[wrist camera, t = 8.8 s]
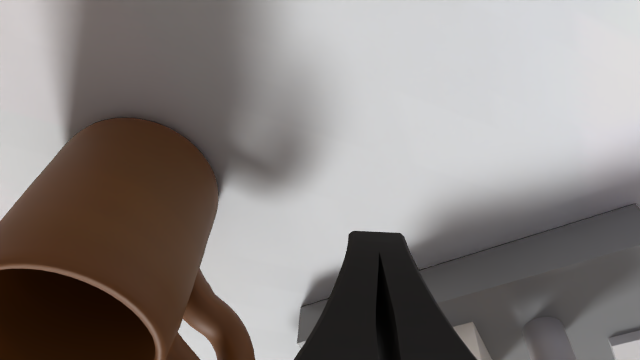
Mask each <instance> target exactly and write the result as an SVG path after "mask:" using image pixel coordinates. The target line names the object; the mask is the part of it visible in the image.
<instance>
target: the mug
mask: <svg viewBox="0 0 640 360" xmlns="http://www.w3.org/2000/svg"><path fill="white" fill-rule="evenodd" d="M217 207H218V186H217V182H216V178H215V175H214V173H213V170H212V169H211V167H210V165H209V163H208V162H207V160H206V159H205V157H204V156H203V155H202V153H201V152H200V151H199V150H198V149H197V148H196V147H195V146H194V145H193V144H192V143H191V142H190V141H189V140H188V139H186V138H185V137H183V136H182V135H180V134H179V133H177V132H175V131H174V130H172V129H170V128H168V127H165V126H163V125H161V124H158V123H155V122H152V121H148V120H143V119H136V118H113V119H107V120H103V121H100V122H96V123H94V124H92V125H90V126H88V127H86V128H85V129H83V130H82V131H80V132H79V133H77V134H76V135H75V136H74V137H73V138H72V139H71V140H70V141H69V142H68V143H67V144H65V146H64V147H63V148H62V149H61V150H60V151H59V152H58V154H57V155H56V156H55V157H54V159H53V160H52V161H51V162H50V163H49V164H48V166H47V167H46V168H45V169H44V170H43V171H42V172H41V174H40V175H39V176H38V177H37V178H36V179H35V180H34V182H33V183H32V184H31V185H30V186H29V187H28V189H27V190H26V191H25V192H24V193H23V195H22V196H21V197H20V198H19V199H18V201H17V202H16V203H15V204H14V205H13V207H12V208H11V209H10V210H9V211H8V213H7V214H6V215H5V216H4V217H3V219H2V220H1V221H0V360H200V359H199V358H198V356H197V355H196V354H195V353H194V352H193V351H192V349H191V348H190V347H189V346H188V345H187V344H186V342H185V341H184V340H183V339H182V337H181V336H180V335H179V333H178V330H179V328H180V325H181V322H182V319H184V320H185V321H186V322H187V323H188V324H189V325H190V326H191V327H193V328H194V329H195V330H197V331H198V332H200V333H201V334H203V335H204V336H205V337H206V338H207V339H208V340H209V341H210V343H211V344H212V346H213V348H214V350H215V352H216V356H217V360H255V356H254V349H253V346H252V342H251V339H250V336H249V334H248V332H247V330H246V327H245V326H244V324H243V322H242V321H241V319H240V318H239V316H238V315H237V314H236V313H235V312H234V311H233V309H232V308H230V307H229V306H228V305H227V304H226V303H225V302H224V301H222V300H221V299H220V298H219V297H218V296H216V295H215V294H214V292H213V291H212V289H211V287H210V285H209V284H208V282H207V281H206V279H205V278H204V276H203V274H202V272H201V270H200V268H199V267H200V264H201V261H202V258H203V255H204V251H205V248H206V244H207V241H208V238H209V235H210V232H211V229H212V226H213V223H214V219H215V216H216V212H217Z"/></svg>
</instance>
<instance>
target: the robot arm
mask: <svg viewBox="0 0 640 360" xmlns="http://www.w3.org/2000/svg"><path fill="white" fill-rule="evenodd" d="M294 360H477V359H476V357H475V356H474V355H473V354H472V352H471V351H470V350H469V349H468V347H467V346H466V345H465V343H464V342H463V341H462V339H461V338H460V337H459V335H458V334H457V333H456V331H455V330H454V328H453V327H452V325H451V324H450V322H449V321H448V319H447V318H446V316H445V315H444V313H443V312H442V310H441V309H440V307H439V305H438V304H437V302H436V301H435V299H434V297H433V295H432V294H431V292H430V290H429V288H428V287H427V285H426V283H425V281H424V280H423V278H422V276H421V274H420V272H419V270H418V268H417V266H416V264H415V262H414V260H413V257H412V255H411V253H410V251H409V248H408V246H407V243H406V240H405V238H404V236H403V235H402V234H401V233H387V232H365V231H353V232H351V233H350V234H349V238H348V246H347V251H346V255H345V258H344V262H343V265H342V268H341V271H340V273H339V276H338V278H337V281H336V283H335V286H334V289H333V291H332V293H331V295H330V297H329V299H328V301H327V303H326V306H325V308H324V310H323V312H322V314H321V316H320V318H319V319H318V321H317V323H316V325H315V327H314V328H313V330H312V332H311V334H310V335H309V337H308V339H307V340H306V342H305V343H304V345H303V347H302V348H301V350H300V351H299V353H298V354H297V356H296V357H295V359H294Z"/></svg>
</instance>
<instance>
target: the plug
mask: <svg viewBox="0 0 640 360" xmlns="http://www.w3.org/2000/svg"><path fill="white" fill-rule="evenodd" d="M453 328H454V330H455V331H456V333H457V334H458V335H459V337H460V338H461V339H462V341H463V342H464V343H465V345H466V346H467V347H468V349H469V350H470V351H471V352H472V354H473V355H474V356H475V357H476V359H477V360H492V358H491V357H490V355H489V353H488V351H487V349H486V347H485V345H484V343H483V341H482V339H481V337H480V335H479V333H478V331H477V329H476V327H475V325H474V323H473V322H469V323H466V324H462V325H458V326H455V327H453Z"/></svg>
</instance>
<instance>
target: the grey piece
mask: <svg viewBox="0 0 640 360" xmlns="http://www.w3.org/2000/svg"><path fill="white" fill-rule="evenodd" d="M419 272H420V274H421V276H422V278H423V280H424V281H425V283H426V285H427V287H428V288H429V290H430V292H431V294H432V295H433V297H434V299H435V301H436V302H437V304H438V305H439V307H440V309H441V310H442V312H443V313H444V315H445V316H446V318H447V319H448V321H449V322H450V324H451V325H452V327H455V326H458V325H462V324H466V323H469V322H473V323H474V325H475V327H476V329H477V331H478V333H479V335H480V337H481V339H482V341H483V343H484V345H485V347H486V349H487V351H488V353H489V355H490V357H491V358H492V360H640V209H639V208H638V206H637V205H636V204H633V205H630V206H626V207H623V208H620V209H617V210H613V211H610V212H607V213H604V214H601V215H597V216H594V217H591V218H588V219H584V220H581V221H578V222H575V223H571V224H568V225H565V226H562V227H559V228H555V229H552V230H549V231H546V232H542V233H539V234H536V235H533V236H529V237H526V238H523V239H520V240H517V241H513V242H510V243H507V244H504V245H500V246H497V247H494V248H491V249H487V250H484V251H481V252H478V253H475V254H471V255H468V256H465V257H462V258H458V259H455V260H452V261H449V262H445V263H442V264H439V265H436V266H433V267H429V268H426V269H423V270H420V271H419ZM327 301H328V299H326V300H323V301H319V302H316V303H313V304H310V305H306V306H303V307H301V310H300V320H299V330H298V339H297V344H298V345H299V346H300V348H302V347H303V345H304V343H305V342H306V340H307V339H308V337H309V335H310V334H311V332H312V330H313V328H314V327H315V325H316V323H317V321H318V319H319V318H320V316H321V314H322V312H323V310H324V308H325V306H326V303H327Z"/></svg>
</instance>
